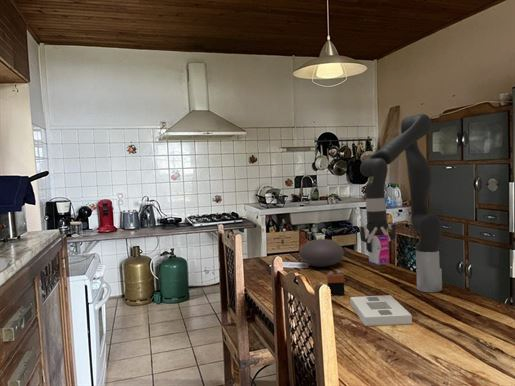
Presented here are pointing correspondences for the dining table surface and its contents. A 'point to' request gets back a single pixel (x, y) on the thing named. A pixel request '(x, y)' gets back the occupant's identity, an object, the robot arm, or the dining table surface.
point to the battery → (336, 282)
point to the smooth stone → (321, 252)
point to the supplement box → (379, 250)
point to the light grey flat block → (380, 310)
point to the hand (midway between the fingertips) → (378, 251)
